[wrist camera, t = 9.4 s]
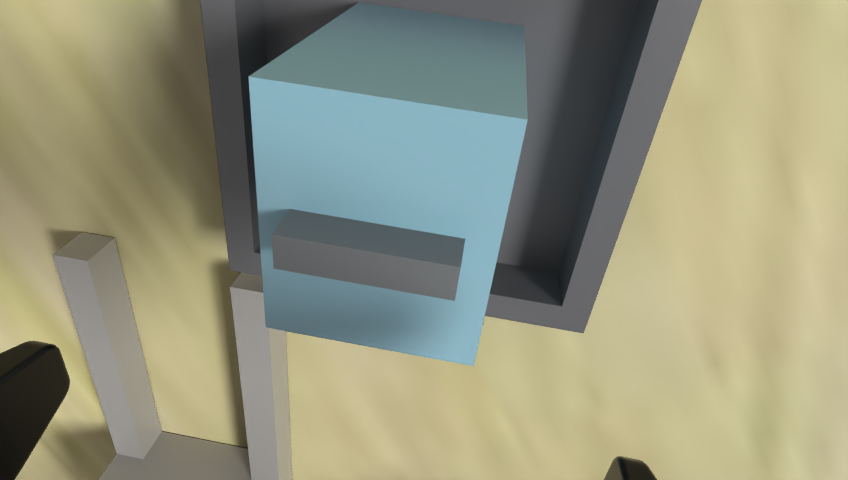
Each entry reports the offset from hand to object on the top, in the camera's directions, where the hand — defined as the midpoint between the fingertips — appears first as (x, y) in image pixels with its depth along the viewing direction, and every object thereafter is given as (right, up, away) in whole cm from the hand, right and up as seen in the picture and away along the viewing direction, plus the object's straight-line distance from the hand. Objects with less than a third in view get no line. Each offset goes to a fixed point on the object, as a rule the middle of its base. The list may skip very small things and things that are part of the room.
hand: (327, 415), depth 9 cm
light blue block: (+2, +7, +9) cm, 12 cm away
